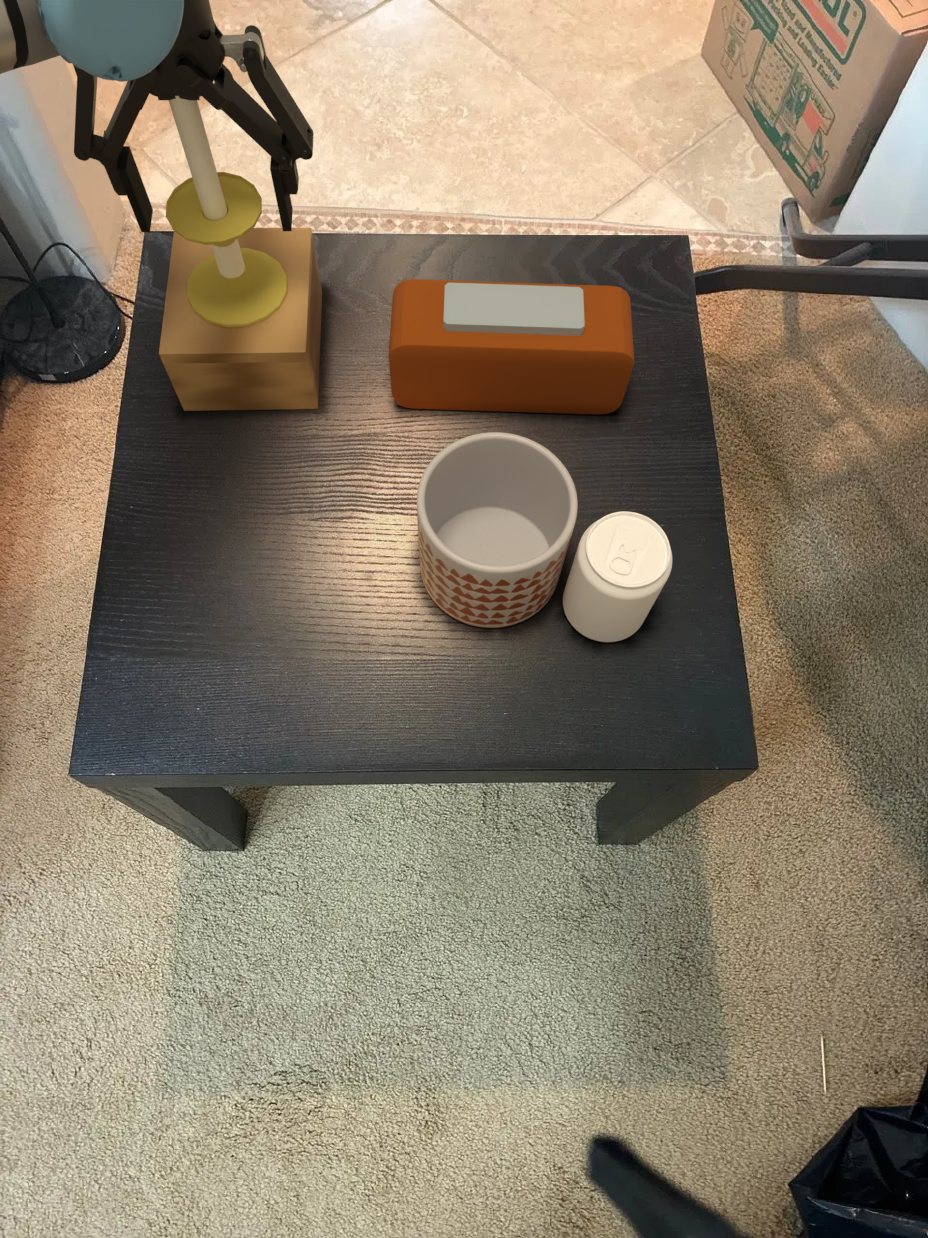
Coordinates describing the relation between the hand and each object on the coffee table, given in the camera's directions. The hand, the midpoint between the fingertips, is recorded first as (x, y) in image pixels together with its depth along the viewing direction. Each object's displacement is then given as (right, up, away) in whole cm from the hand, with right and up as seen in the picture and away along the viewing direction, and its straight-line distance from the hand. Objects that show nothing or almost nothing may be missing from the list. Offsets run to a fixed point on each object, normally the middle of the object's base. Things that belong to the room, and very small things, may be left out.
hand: (217, 220), depth 79 cm
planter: (+25, -31, +7) cm, 40 cm away
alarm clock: (+27, -10, +15) cm, 33 cm away
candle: (0, -3, +8) cm, 8 cm away
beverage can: (+36, -35, +5) cm, 50 cm away
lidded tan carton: (0, -7, +16) cm, 17 cm away
